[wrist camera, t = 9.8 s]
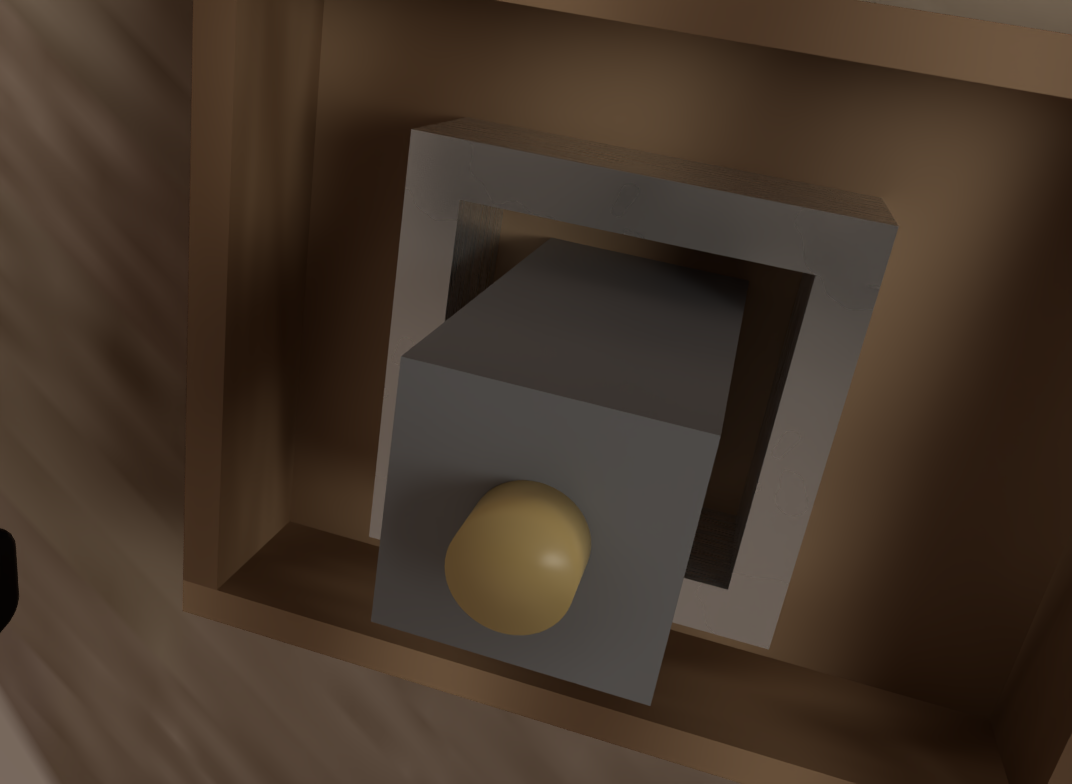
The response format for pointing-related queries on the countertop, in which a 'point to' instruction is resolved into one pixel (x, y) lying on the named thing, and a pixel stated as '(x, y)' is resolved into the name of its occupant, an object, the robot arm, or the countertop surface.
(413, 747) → the countertop surface
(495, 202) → the collar
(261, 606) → the walnut box
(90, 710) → the countertop surface
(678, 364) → the grey box with knob
